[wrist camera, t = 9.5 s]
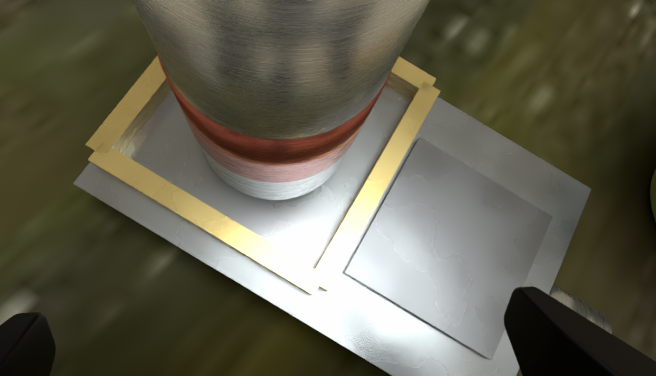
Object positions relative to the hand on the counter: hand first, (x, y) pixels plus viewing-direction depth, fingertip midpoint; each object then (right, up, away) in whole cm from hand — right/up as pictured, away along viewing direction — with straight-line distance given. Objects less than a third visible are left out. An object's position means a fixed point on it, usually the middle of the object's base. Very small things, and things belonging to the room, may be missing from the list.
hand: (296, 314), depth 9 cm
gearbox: (+3, +1, +12) cm, 13 cm away
